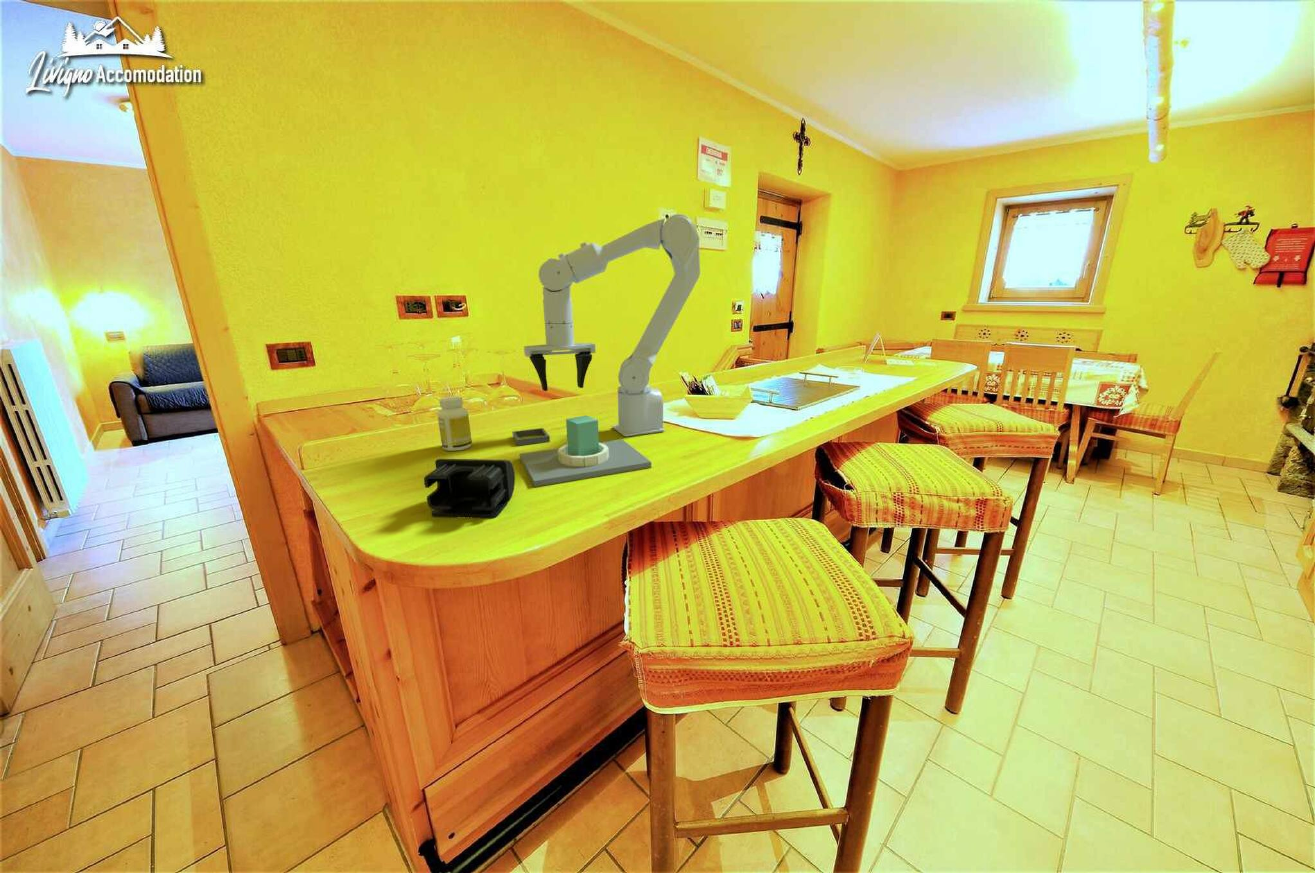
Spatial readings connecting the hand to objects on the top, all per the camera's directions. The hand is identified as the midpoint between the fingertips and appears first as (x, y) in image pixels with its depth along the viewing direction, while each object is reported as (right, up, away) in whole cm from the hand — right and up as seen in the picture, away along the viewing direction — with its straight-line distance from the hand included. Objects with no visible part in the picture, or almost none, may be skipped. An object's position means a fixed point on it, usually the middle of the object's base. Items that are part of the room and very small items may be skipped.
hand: (562, 388), depth 97 cm
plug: (+7, -14, -16) cm, 23 cm away
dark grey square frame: (-6, -11, -3) cm, 13 cm away
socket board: (+7, -15, -16) cm, 23 cm away
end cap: (-6, -20, -32) cm, 39 cm away
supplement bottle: (-19, -12, -8) cm, 24 cm away
